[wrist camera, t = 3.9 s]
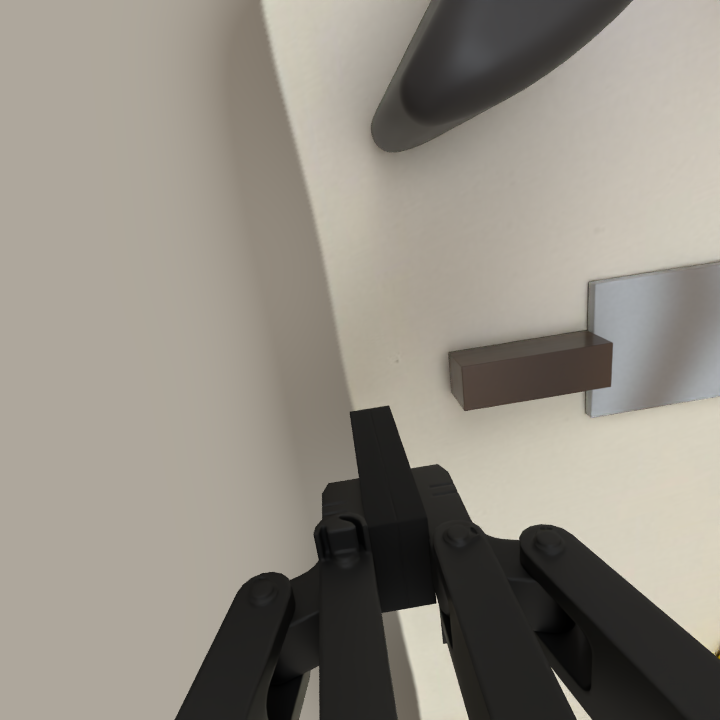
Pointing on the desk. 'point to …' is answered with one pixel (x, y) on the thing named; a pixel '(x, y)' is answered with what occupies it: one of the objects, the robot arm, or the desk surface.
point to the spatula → (611, 349)
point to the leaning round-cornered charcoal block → (479, 61)
